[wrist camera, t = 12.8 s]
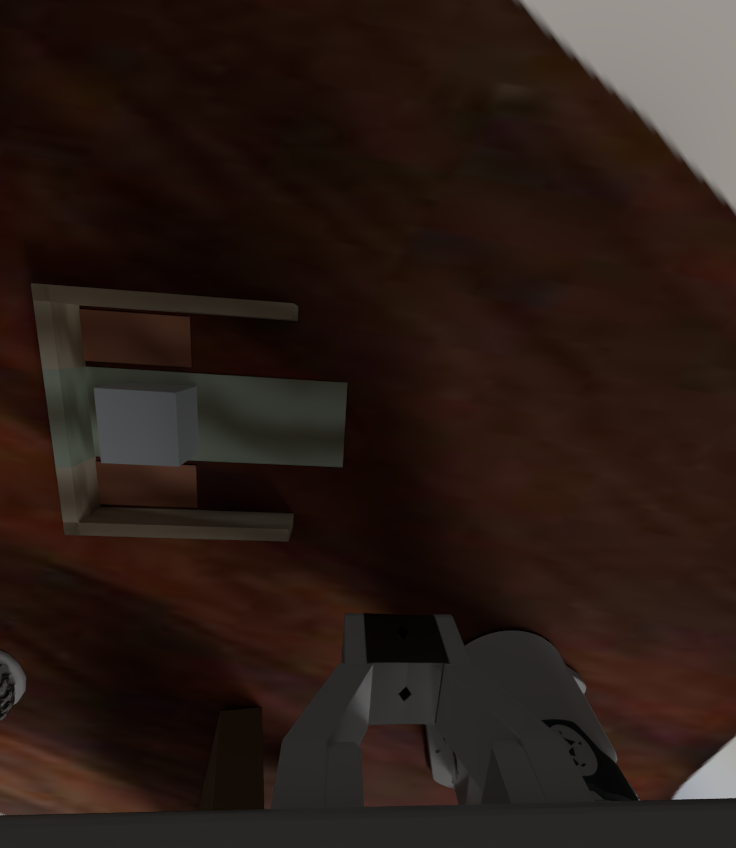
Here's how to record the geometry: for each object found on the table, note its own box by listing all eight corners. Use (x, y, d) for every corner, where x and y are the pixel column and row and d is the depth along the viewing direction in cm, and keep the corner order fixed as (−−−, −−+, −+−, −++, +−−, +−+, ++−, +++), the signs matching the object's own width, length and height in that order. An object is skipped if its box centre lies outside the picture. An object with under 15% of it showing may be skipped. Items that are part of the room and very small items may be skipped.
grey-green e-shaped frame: (339, 526, 36) (338, 542, 33) (88, 517, 34) (64, 534, 31) (351, 310, 31) (351, 307, 28) (61, 288, 29) (30, 283, 26)
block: (198, 451, 33) (179, 466, 29) (130, 448, 33) (101, 462, 29) (196, 386, 32) (175, 392, 28) (125, 381, 31) (93, 387, 27)
